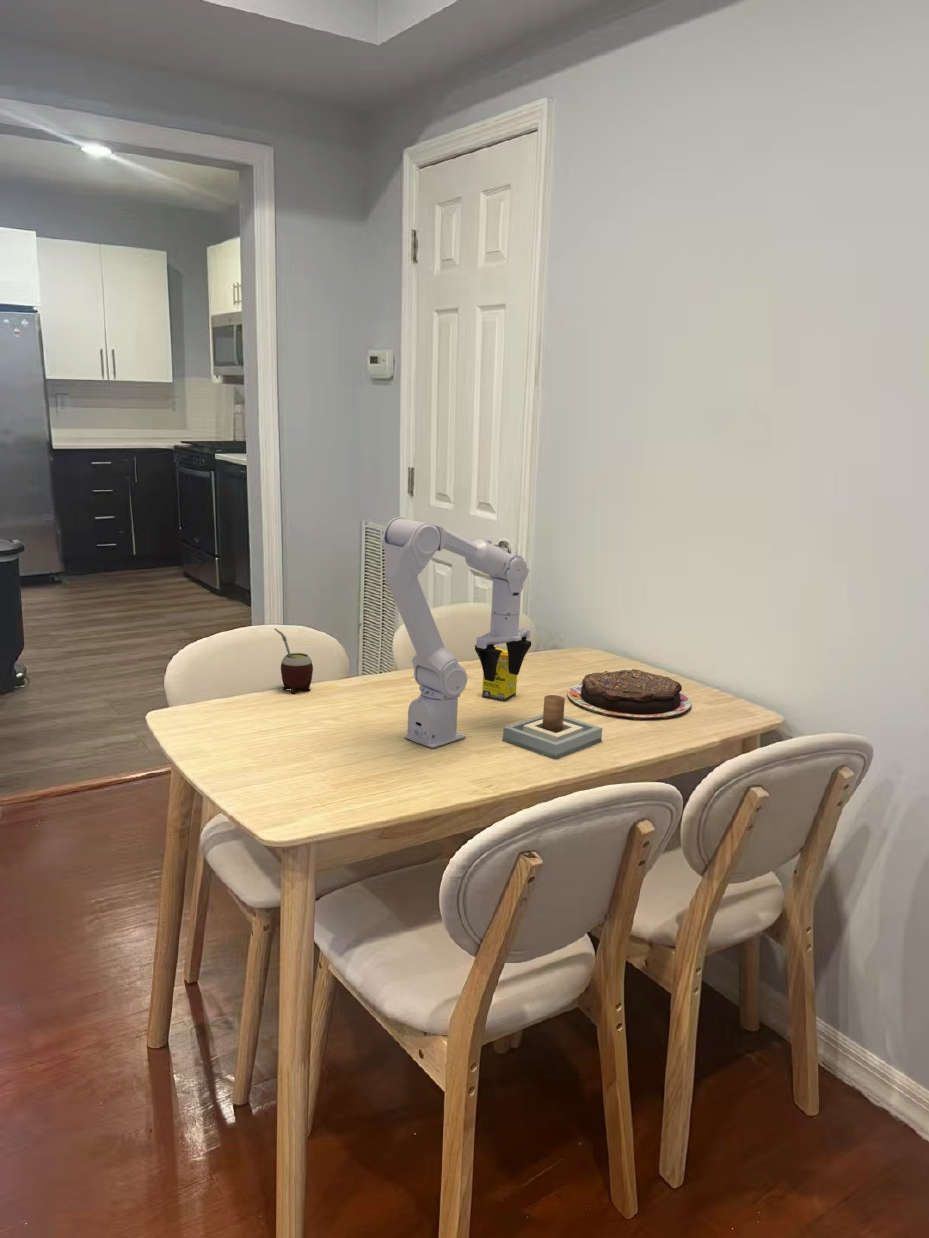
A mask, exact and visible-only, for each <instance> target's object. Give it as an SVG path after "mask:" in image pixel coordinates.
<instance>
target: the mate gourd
mask: <svg viewBox="0 0 929 1238" xmlns="http://www.w3.org/2000/svg"><path fill="white" fill-rule="evenodd" d="M273 629H274V631H276V632H277V633H278V634H279V635H280V636H281V639H282V641H283V642H284V646H285V648H286V649H285V650H286V652H287V654H286V655H285V656H284V657H283V658H282V660H281V663H280V674H281V680H282V683H283V687H282V690H283V691H287V690H286V689H291V690H290V691H291V693H290V694H291V695H296V694H297V692H311V689H310V686H311V683H312V680H313V673H314V672H313V671H314V667H313V666H314V665H313V662H312V659H311V657H310V656H309V654H307V653H303V652H292V653H291V651H290V648H289V645H288V642H287V636H286V635H285V634H284V633H283V632H282V631H281V630H278V629H277V628H276V627H275V628H273Z"/></svg>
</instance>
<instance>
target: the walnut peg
mask: <svg viewBox="0 0 929 1238" xmlns="http://www.w3.org/2000/svg"><path fill="white" fill-rule="evenodd" d="M565 701H566V698H565V697H564V696H561V695H556V694H548V695H545V696H544V698H543V711H542V712H543V713H542V714H543V725H542V729H545V730H548V731H551V732H554V733H558V732H561V731H563V718H564V716H565Z"/></svg>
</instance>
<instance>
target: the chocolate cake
mask: <svg viewBox="0 0 929 1238" xmlns="http://www.w3.org/2000/svg"><path fill="white" fill-rule="evenodd" d="M682 690H683V686H682V684H681V683H680V682H678V681H676V680H674V679H672V678H671V677H669V676H663V675H658V674H656V673H655V674H654V673H652V672H646V671H642V670H639V669H635V668H632V669H630V670H629V669H621V670H616V671H607V670H605V671H603V672H592V673H587V674H585V676H584V677H583V679H582V681H581V682H580V683H578V684H576V685H573V686H571V687H570V688H569V689H568V690H567V691H566V694H567V696H568V698H569V700H570V702H571V703H572V705H573V706H576V707H578V708H581V709H584V710H586V711H590V712H593V713H596V714H599V715H601V716H606V717H618V718H627V719H631V720H634V721H643V720H649V719H659V718H660V719H664V720H667V719H672V718H675V717H678V716H681V715H683V714H685V713H686V712H688V710H689V709H691V706H692V701H691V700H690V699H689V697H688V696H687V695H685V694H684V693H681V691H682Z"/></svg>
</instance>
